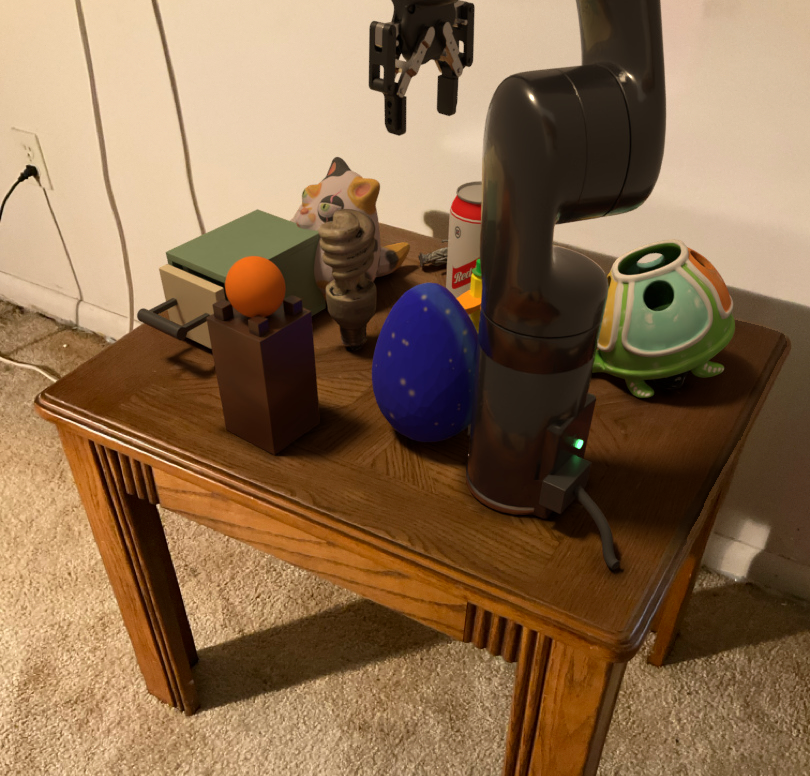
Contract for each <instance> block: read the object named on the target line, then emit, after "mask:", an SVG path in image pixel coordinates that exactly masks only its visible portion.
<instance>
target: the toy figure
mask: <svg viewBox="0 0 810 776" xmlns="http://www.w3.org/2000/svg"><path fill="white" fill-rule="evenodd" d="M472 272H473V274H472V275H471V286H470V290H468V291H467V292H465V293H463V294H462V295H460V296H459V297H458V298H456V299H457V300H458V301H459V302H460V304H461V305H462V306H463V307H464V309H465V311H466V312H467V314H468V315H469V314H470V316H471V320H472V322H473V324H474V326H475V328H476V330H477V332H478V331H479V319H480V307H481V296H482V278H481V265H480V259H478V260H477V261H476V268H474V269H472Z"/></svg>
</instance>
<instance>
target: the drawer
mask: <svg viewBox="0 0 810 776" xmlns="http://www.w3.org/2000/svg"><path fill="white" fill-rule="evenodd" d="M158 271H159V275H160V281H161V286H162V290H163V296H164V299H165V301H163V302H162V303H160V304H158V305H156V306H154V307H152V308H150V309H147V308H145V307H144V308H143V307H142V308H140V309H138V311H137V314H136V318H137V320H138V321H139V322H141V323H143V324H145V325H147V326H149V327H151V328H153V329H155V330H157V331H159V332H161V333H163V334H165V335H168V336H169V337H172V338H174V339H176V340H178V341H184V340H185V339H186V338H187V339H190V340H191V341H194V342H195V343H198V344H200V345H202V346H204V347H206V348H208V349H210V350H212V347H211V342H210V336H209V331H208V325H207V320H206V318H207V317H208V316H210V315H212V314H214V311H213V306H212V304H214V303H216V302H218V301H220V300H222V299H223V300H226V301H228V302H229V300H228V297H227V295H226V289H225V283H223V282H220V281H218V280H215V279H213V278H211V277H208V276H206V275H204V274H201V273H199V272H197V271H194V270H192V269H189V268H187V267H185V266H183V270H180V269H178V268H176V267H173V266H171V265H169V264H168V263H166V264H163V265H162V266H159V267H158ZM165 311H167V314H168V318H169V319H168V318H166V317H164V316H162V315H160V314H162V313H164V312H165Z"/></svg>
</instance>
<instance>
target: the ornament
mask: <svg viewBox="0 0 810 776" xmlns="http://www.w3.org/2000/svg"><path fill="white" fill-rule="evenodd" d="M379 332H380V333H379V334H378V337H377V341H376V344H375V348H374V352H373V357H372V364H371V381H372V382H371V384H372V391H373V394H374V398H375V402H376V404H377V406H378V408H379V410H380V412H381V415H382V416H383V417H384V418H385V420H386V421H387V422H388V424H389V425H390V426H391V427H392V428H393V429H394V430H395V431H396V432H397V433H398V434H400V435H402V436H404V437H405V438H408V439H410V440H412V441H416V442H421V443H438V442H442V441H445V440H448V439H450V438H453V437H456V436H457V435H458V434H460V433H462V432H464V431H465V430H466V429H468V425H469V424H471V416H472V404H473V391H474V379H475V367H476V355H477V342H478V332H477V330H476V328H475V326H474V324H473V322H472V320H471V319H470V317H469V315H468V314H467V312H466V311H465V309H464V307H463V306H462V305H461V304H460V302H459V301H458V300H457V299H456V297H455V296H454V295H453V294H452V293H451V292H450V291H449V290H448V289H447V288H446V286H443V285H442V284H440V283H436V282H424V283H420V284H417V285H414V286H413V287H411V288H410V289H408V290H406V291H405V292H404V293H403V294H402V295H401V296H400V297H399V298H398V299H397V301H396V302H395V303H394V305H392V308H391V310H390V311H389V312H388V315H386V318H385V320H384V322H383V324H382V327H381V329H380V331H379Z"/></svg>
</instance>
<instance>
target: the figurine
mask: <svg viewBox="0 0 810 776" xmlns="http://www.w3.org/2000/svg"><path fill="white" fill-rule="evenodd" d="M380 191H381V183H380V182H379V181H378V180H377V179H375V178H369V177H367V178H366V177H363V176H362V175H360V174H359V173H358V172H355V171H353V170H352V169H351V168H350V166H349V164H347V162H346V161H345V160H344V158H342V157H339V156H335V157H334V158H333V159H332V160H331V163H330V166H329V168H328V169H327V173H326V175H325V177H323V179H321V181H319V183H317V184H309V185H307V186H306V187H304V188H303V190H302V193H301V204H300V205H299V207H298V208H297V210H296V212H295V213H294V215H293V217H292V218H291V219H290V220H289V221H291V222H294V223H296V225H297V226H298V227H299V228H302V229H306V230H316V231H318V230H319V227H320V226H321V225H322V224H324V223H326V222H330V221H333V215H334V213H335V211H337V210H340V209H353V210H357V211H360V212H362V213H364V214H366V215H367V216H369V217H370V218H371V219H372V221H373V222H374V224H375V235H374V240H375V247H374V250H373V253H374V261H373V264H372V266H371V267H370V268H369V269H368V270H367V271H366V272H365V278H367V279H369V280H371V281H373V282H374V281H375V279H376V278H380V277H383V276H387V275H390V274H392V273H394V272H395V271H396V270H397V269H399V268H400V267H401V266H402V265H403V263H404V262H405V261H406V258H407V256H408V254H409V252H410V250H411V245H410V243H409V242H404V241H403V242H398V243H393V244H392V243H391V244H388V245H383V246H381V245H382V244H381V233H380V231H381V230H380V224H379V223H380V222H379V221H380V220H379V215H378V211H377V210H378V209H377V201H378V198H379V194H380ZM320 240H321V237H320V239H319V240H318V241H319V242H318V246H317V250H316V256H315V263H314V275H315V280H316V284H317V286H318V288H319V289H320V290H321V292H322V294H323V296H324V298H325V302H327V300H326V286H327V285H328V284H329V283H330V282H331V281H333V280H334V278H333V276H332V267H330V266H328V265H326V264H325V263H324V262H323V260H322V256H323V254H324V251H323V250H322V249H321V247H320Z"/></svg>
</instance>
